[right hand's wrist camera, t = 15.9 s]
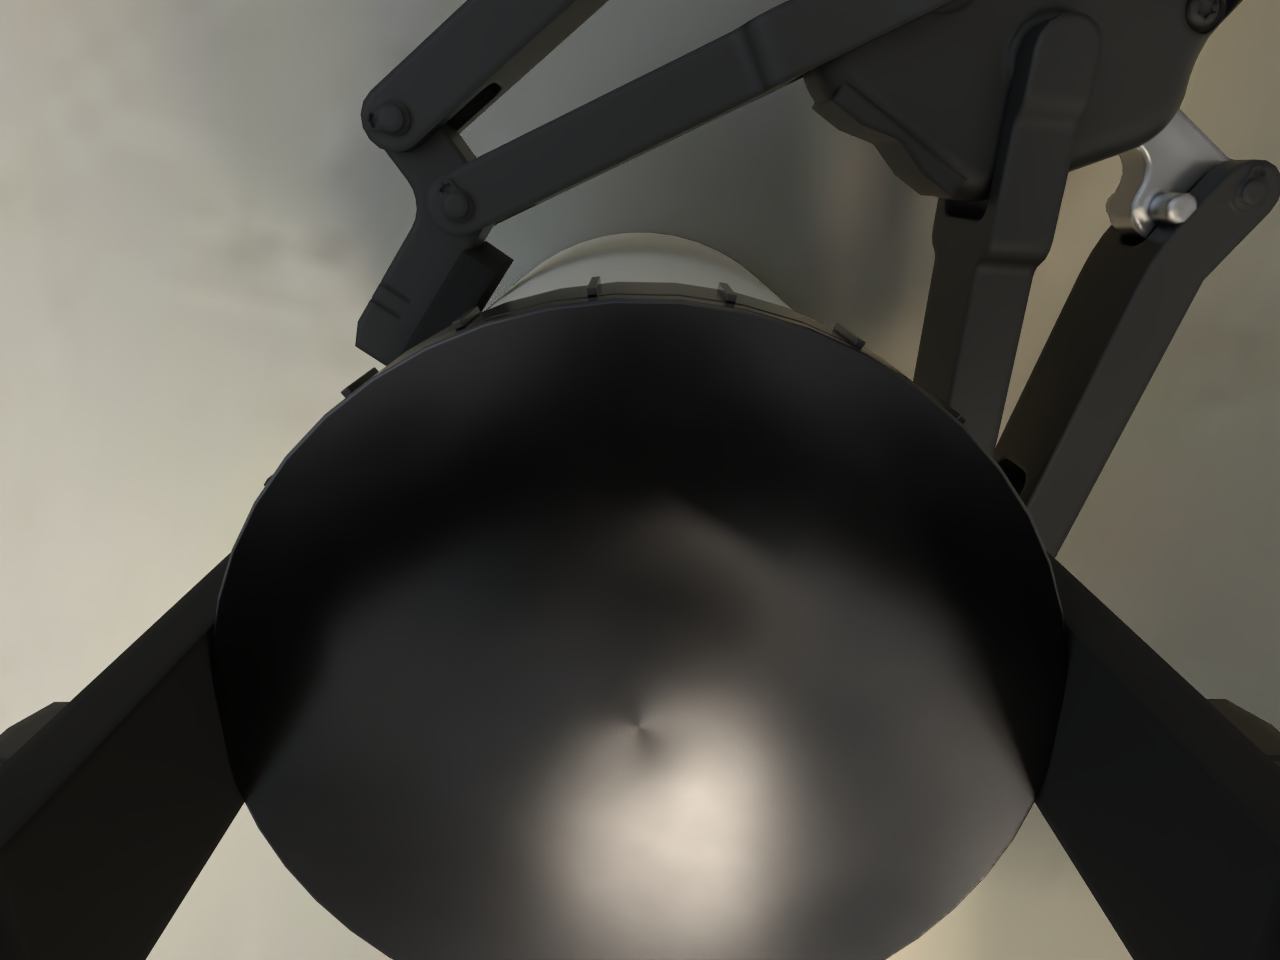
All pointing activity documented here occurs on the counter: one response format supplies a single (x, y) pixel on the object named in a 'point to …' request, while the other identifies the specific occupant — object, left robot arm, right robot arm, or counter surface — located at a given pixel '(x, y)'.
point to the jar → (639, 266)
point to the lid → (639, 641)
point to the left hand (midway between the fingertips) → (544, 606)
